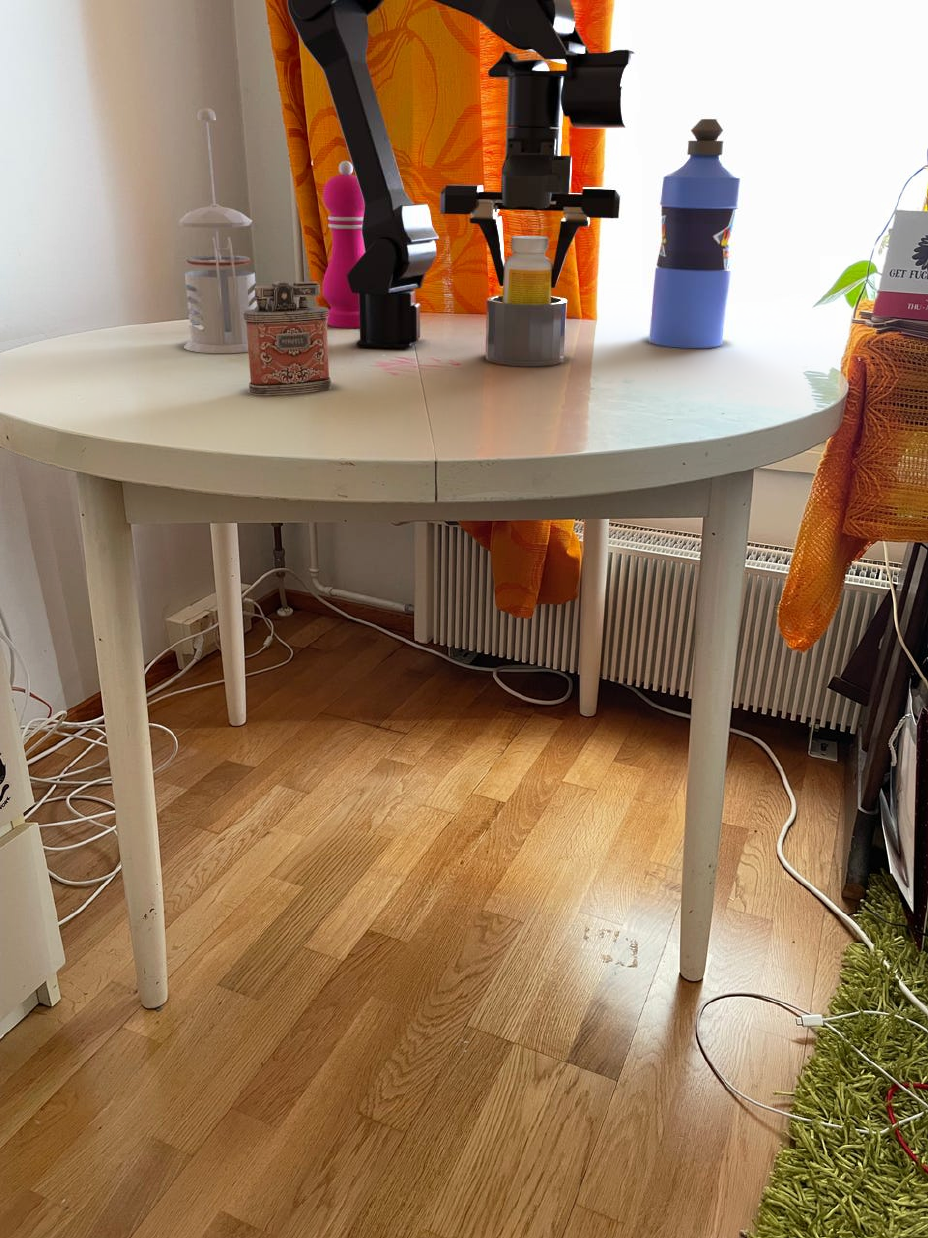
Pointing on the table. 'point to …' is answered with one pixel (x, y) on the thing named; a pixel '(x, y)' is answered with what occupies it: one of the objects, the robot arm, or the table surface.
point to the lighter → (287, 341)
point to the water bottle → (695, 245)
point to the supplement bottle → (528, 272)
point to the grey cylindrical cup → (525, 332)
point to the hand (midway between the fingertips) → (527, 286)
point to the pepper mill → (343, 246)
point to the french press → (218, 280)
